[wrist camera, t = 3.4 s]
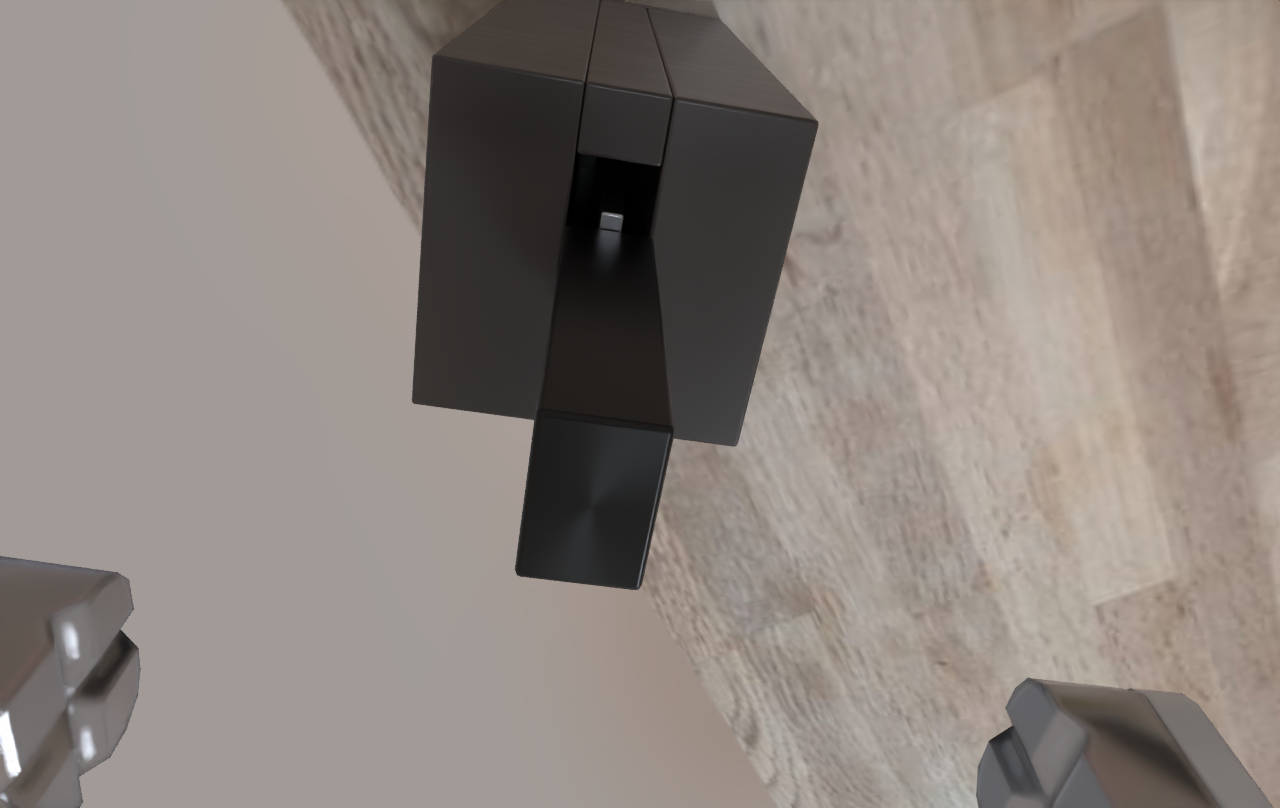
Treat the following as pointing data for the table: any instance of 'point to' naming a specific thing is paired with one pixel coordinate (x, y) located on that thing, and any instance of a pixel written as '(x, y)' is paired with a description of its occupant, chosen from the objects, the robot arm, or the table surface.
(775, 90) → the knife block
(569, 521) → the knife
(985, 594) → the table surface
